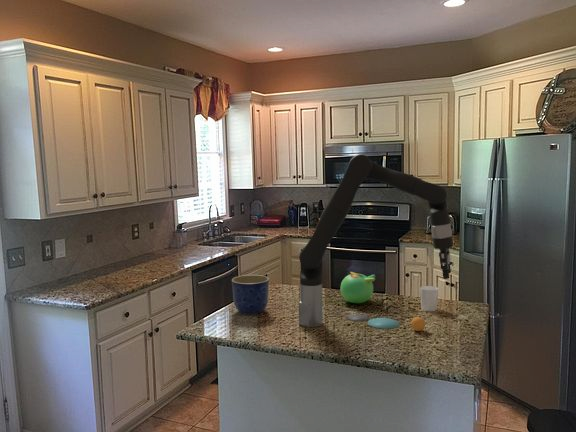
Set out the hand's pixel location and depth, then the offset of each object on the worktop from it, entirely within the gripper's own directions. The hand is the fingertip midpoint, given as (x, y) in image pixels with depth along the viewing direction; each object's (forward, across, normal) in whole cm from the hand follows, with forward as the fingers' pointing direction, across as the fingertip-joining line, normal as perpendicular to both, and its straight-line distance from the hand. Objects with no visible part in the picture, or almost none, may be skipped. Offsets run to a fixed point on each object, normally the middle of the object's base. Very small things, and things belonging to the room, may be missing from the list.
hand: (447, 275), depth 186 cm
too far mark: (+17, -1, -39) cm, 43 cm away
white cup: (+22, -24, -12) cm, 35 cm away
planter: (+10, +7, -87) cm, 88 cm away
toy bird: (+17, -24, -45) cm, 54 cm away
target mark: (+18, +2, -28) cm, 33 cm away
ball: (+18, +6, -13) cm, 22 cm away
